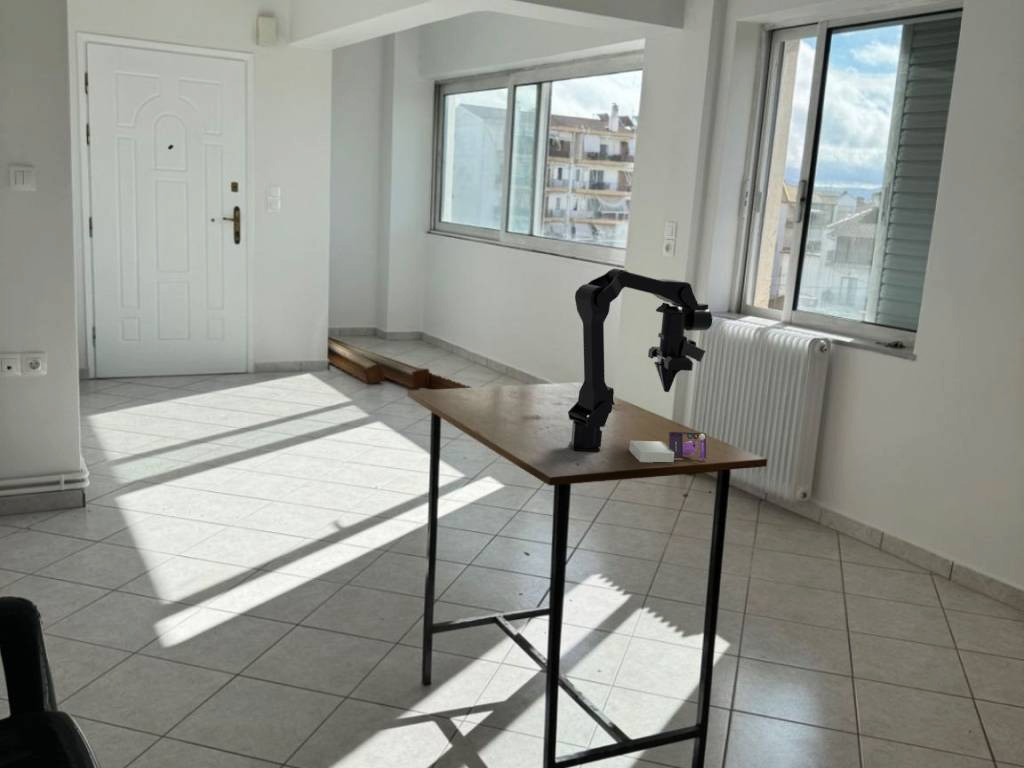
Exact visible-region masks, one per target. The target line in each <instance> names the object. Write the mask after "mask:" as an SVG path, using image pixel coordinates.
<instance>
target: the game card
mask: <svg viewBox="0 0 1024 768" xmlns="http://www.w3.org/2000/svg"><path fill="white" fill-rule="evenodd" d="M706 434H707V433H706V432H687V431H686V432H684V431H682V432H680V431H670V432H668V448H670V449H671V450H672V451H673V452H674V458H683V459H684V457H683V456H685V455H687V456H692V455H694V454H695V453H696V452H697V448H698V449H700V455H699V457H698V459H699V458H703V459H704V458H706V459H707V435H706ZM684 435H686V437H687V438H688V439H689V440H688V441H686V442H685V441H684V440H683V436H684ZM691 439H693V440H694V441H693V440H691ZM698 439H699V442H700V447H699V446H698V445H697V444H698V442H696V441H695V440H698Z"/></svg>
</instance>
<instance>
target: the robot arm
mask: <svg viewBox="0 0 1024 768" xmlns="http://www.w3.org/2000/svg"><path fill="white" fill-rule="evenodd" d="M624 288H628V289H632V290H635V291H640V292H643V293H648V294H651V295H653V296H654V297H656V298H658V299H659V300H662V301H663V302H662V303H661V305H660V306H658V307H657V308H655V312H658V313H662V319H661V329H660V332H659V333H658V335H657V337H658V338H659V340H660V341H659V346H651V347H650V348H649V349H648V353H647V357H648V358H650V359H654V358H657V361H654V362H653V364H654V365H655V369H656V371H657V374H658V377H659V380H660V384H661V386H662V389H663V391H664V393H669V392H670V391H671V388H672V385H673V383H674V380H675V378H676V376H677V374H678V373H679V372H681V371H689V372H690V371H691V372H692V371H693V367H694V363H693V361H692V360H691V359H694V360H695V361H697V362H699V363H701V361H702V360H703V357H704V355H705V353H706V350H705V349H702V348H700V347H698V346H697V342H696V341H694V340H692V339H690V338H689V339H688V337H687V336H686V335H685V331H688V332H689V331H707V330H709V329H711V327H712V324H713V315H712V313H711V311H710V310H709V304H708V303H699V302H698V300H697V299H696V297H695V295H694V292H693V288H692V284H691V283H689V282H687V281H681V280H675V279H669V278H668V279H667V278H666V279H663V278H661V279H660V278H659V279H658V278H657V279H656V278H652V277H648V276H645V275H642V274H637V273H634V272H630V271H627V270H626V269H621V268H612V269H610V270H608V271H607V272H605V273H604V274H603V275H601V276H598V277H596V278H594V279H592V280H590V281H589V282H588V283H585V284H582V285H581V286H579V287H578V289H577V290H576V291H575V294H574V300H575V305H576V311H577V314H578V315H579V318H580V319H581V322H582V334H583V335H582V337H583V338H582V339H583V373H584V374H583V375H584V376H583V378H584V379H583V380H584V381H583V383H582V385H581V387H580V389H579V391H578V398H577V402H575V404H574V405H572V407H571V408H570V409H569V410H568V412H567V415H568V419H569V420H570V421H572V426H571V427H572V430H571V440H570V441H569V442H568V443H569V445H570V447H571V448H572V450H573V451H583V452H584V451H585V452H601V449H600V448H601V447H602V437H603V431H602V430H601V428H604V427H605V426H606V423H607V421H608V419H609V415H610V414H611V413H612V411H613V406H615V401H614V394H615V390H614V388H613V387H609V386H608V385H607V383H606V381H605V379H606V378H605V375H606V374H605V332H604V331H605V330H604V328H605V326H604V324H605V321H606V319H607V317H608V315H609V314H610V309H611V303H613V301H614V300H616V299H617V298H618V296H619V295H620V294H621V292H622V290H623V289H624ZM670 304H671V305H670ZM688 357H689V358H688ZM690 358H691V359H690Z"/></svg>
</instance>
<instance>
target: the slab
mask: <svg viewBox="0 0 1024 768" xmlns="http://www.w3.org/2000/svg"><path fill="white" fill-rule="evenodd" d="M628 450H629V451H630V453H631V454H632V455H633V456H634V458H636V459H637V460H638V461H639V463H653V462H673V463H674V461H675V460H674V452H673V451H672V450H671V449H670V448H669V446H667V445H666V443H664V442H663V441H654V440H653V441H649V440H630V441H629V449H628Z"/></svg>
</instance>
